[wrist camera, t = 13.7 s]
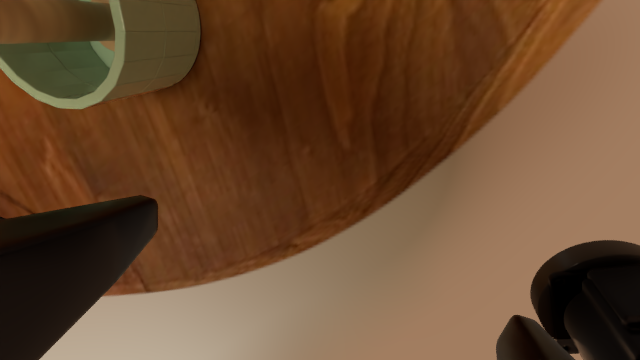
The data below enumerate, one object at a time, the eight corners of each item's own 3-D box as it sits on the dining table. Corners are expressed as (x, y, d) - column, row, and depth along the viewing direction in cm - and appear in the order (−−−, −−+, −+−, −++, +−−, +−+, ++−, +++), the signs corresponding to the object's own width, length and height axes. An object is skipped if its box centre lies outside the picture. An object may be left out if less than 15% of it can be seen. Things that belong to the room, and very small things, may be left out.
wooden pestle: (165, 41, 20) (-101, 51, 9) (126, 57, 21) (-155, 83, 10) (141, -15, 19) (-187, -75, 8) (101, 5, 20) (-237, -26, 9)
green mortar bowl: (222, 67, 20) (156, 80, 15) (121, 104, 23) (33, 127, 17) (160, -89, 18) (53, -142, 12) (54, -27, 20) (-73, -49, 15)
